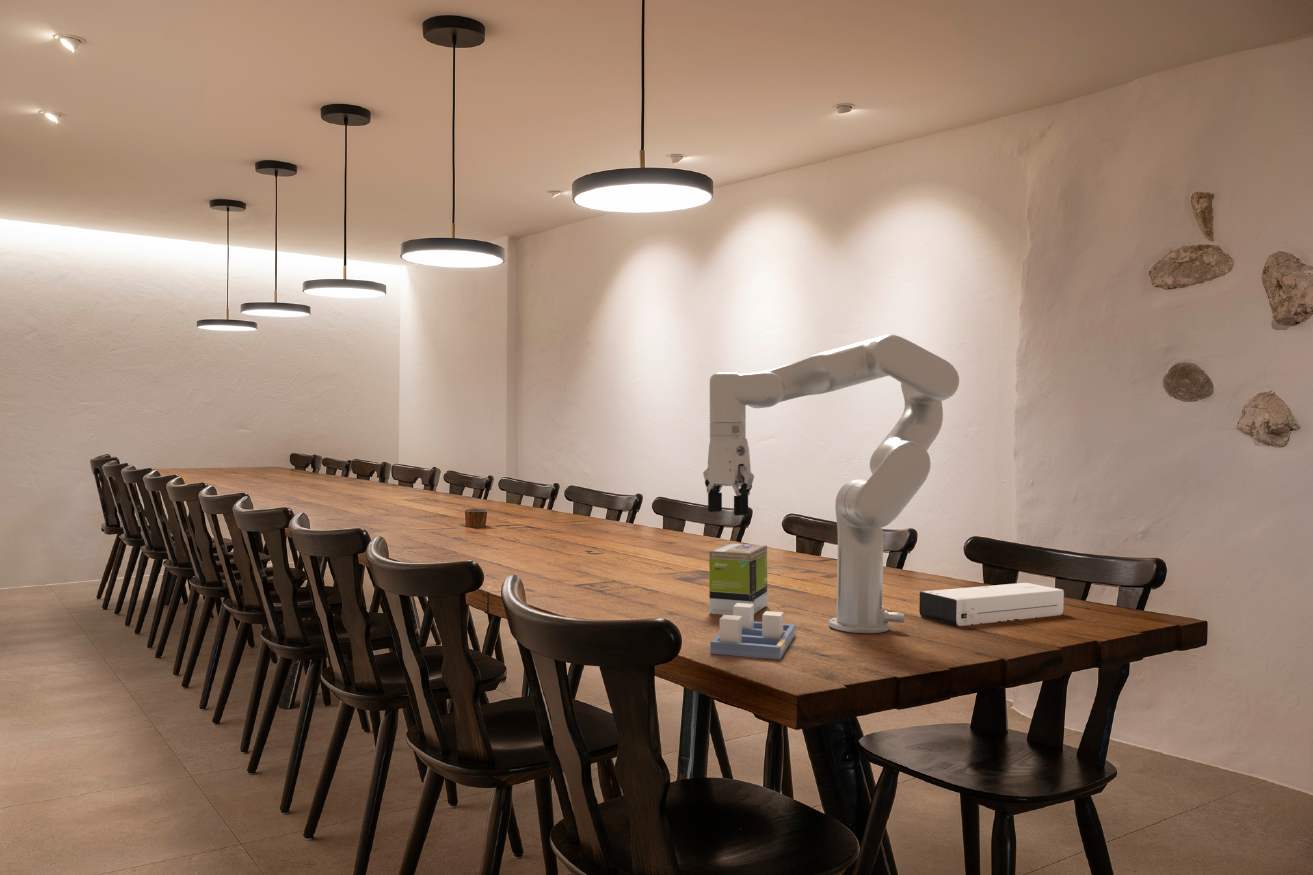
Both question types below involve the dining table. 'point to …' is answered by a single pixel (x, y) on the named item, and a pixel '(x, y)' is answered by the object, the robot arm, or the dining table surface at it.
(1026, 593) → the laminator
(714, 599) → the tea box
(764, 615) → the tab
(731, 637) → the tab
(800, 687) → the dining table surface
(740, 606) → the tab
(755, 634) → the blue compartment tray
